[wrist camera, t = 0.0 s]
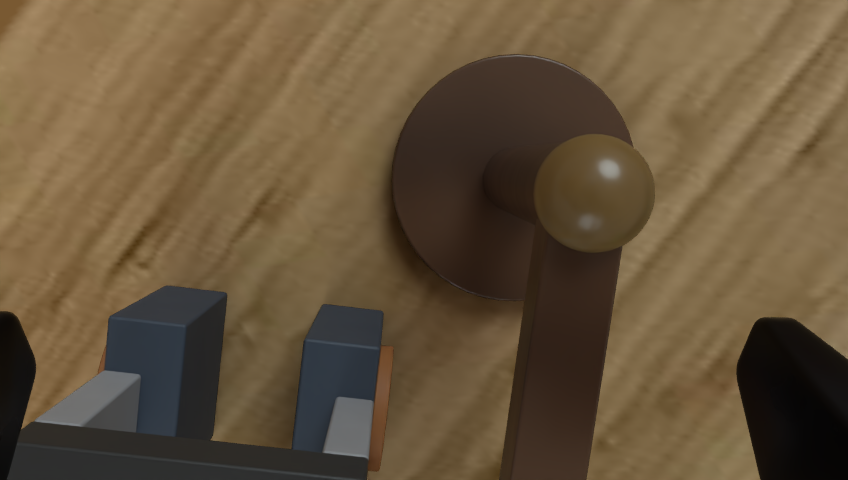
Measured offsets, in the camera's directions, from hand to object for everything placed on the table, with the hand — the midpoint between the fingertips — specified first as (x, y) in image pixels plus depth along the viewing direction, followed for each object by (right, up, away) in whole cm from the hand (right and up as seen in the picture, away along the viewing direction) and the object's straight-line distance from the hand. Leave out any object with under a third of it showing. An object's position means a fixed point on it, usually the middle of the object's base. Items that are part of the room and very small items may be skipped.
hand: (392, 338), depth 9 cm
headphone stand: (+3, +1, +15) cm, 15 cm away
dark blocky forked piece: (-5, -3, +15) cm, 16 cm away
